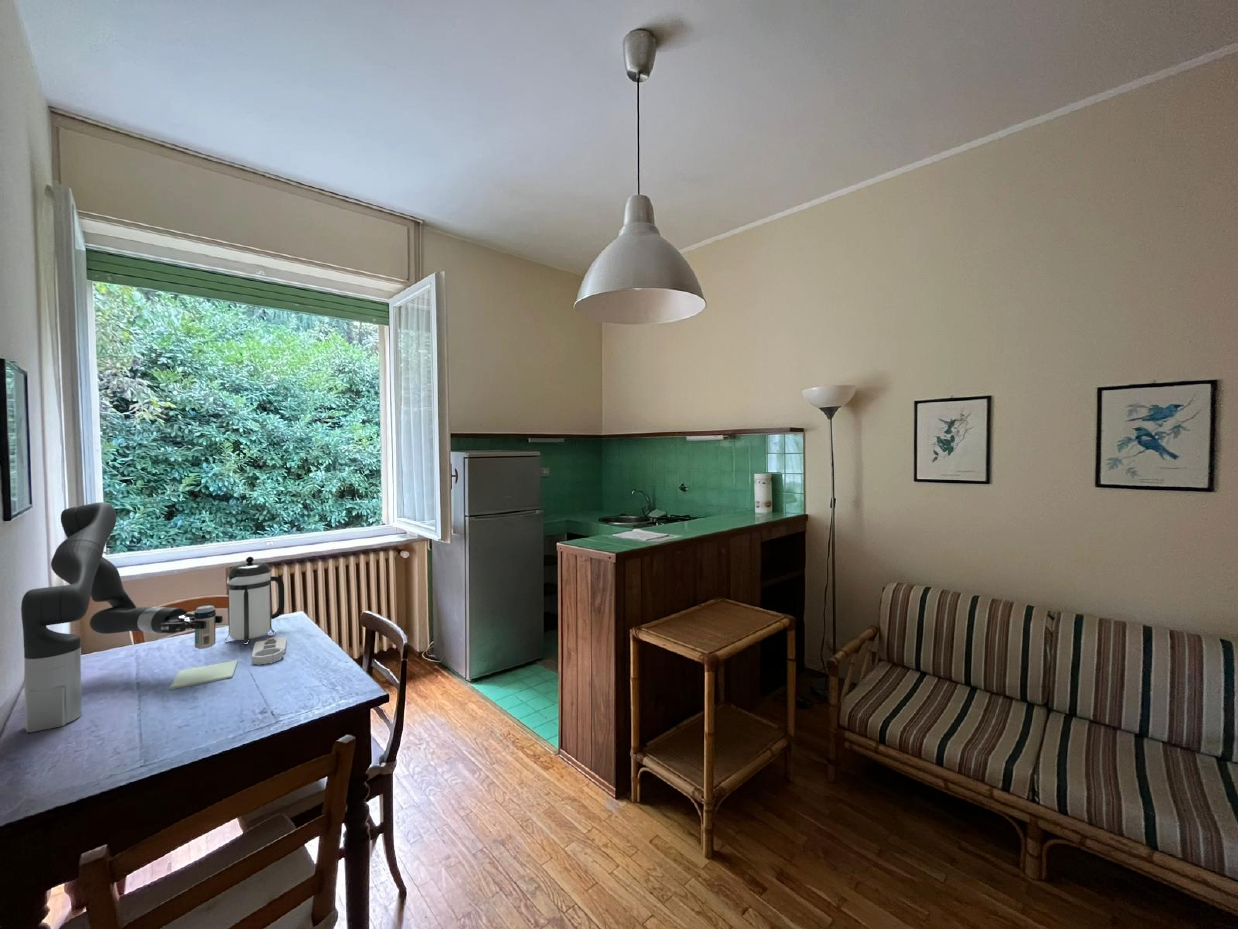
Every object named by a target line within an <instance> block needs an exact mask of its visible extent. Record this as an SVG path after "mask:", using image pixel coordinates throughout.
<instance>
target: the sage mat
mask: <svg viewBox="0 0 1238 929" xmlns="http://www.w3.org/2000/svg"><path fill="white" fill-rule="evenodd" d="M237 662H238V663H239V660H232V661H227V662H221V663H215V664H209V665H203V666H197V667H192V668H186V669H181V670H179V672H178V673H177V675H176V676H175V678H174V679H173V681H172V683H171V684H170V686H169V688H168V689H169V690H173V689H179V688H180V689H181V688H184V687H189V686H194V685H195V686H197V685H200V684H206V683H211V682H216V681H222V680H228V679H233V676H234V673H235V671H236V669H237V666H238V663H237ZM236 665H237V666H236ZM235 668H236V669H235ZM227 678H228V679H227Z"/></svg>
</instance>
